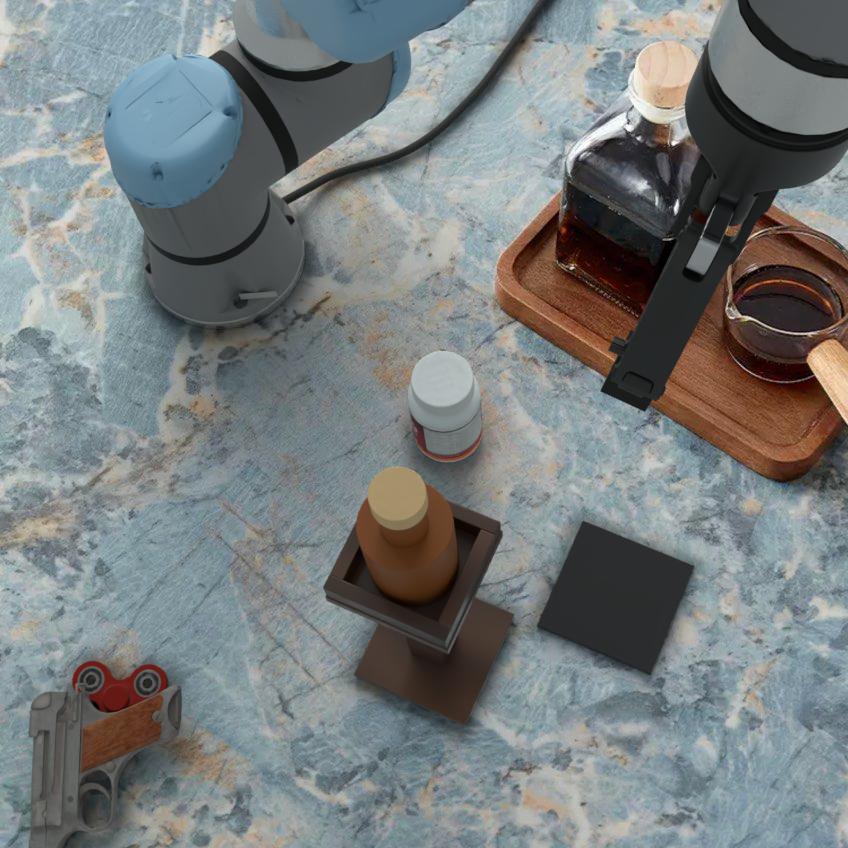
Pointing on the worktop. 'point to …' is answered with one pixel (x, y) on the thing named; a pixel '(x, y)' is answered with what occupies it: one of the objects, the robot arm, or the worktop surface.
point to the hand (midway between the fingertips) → (669, 298)
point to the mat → (616, 597)
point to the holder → (429, 625)
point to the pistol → (87, 754)
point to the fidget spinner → (119, 685)
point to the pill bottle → (445, 407)
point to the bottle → (408, 538)
